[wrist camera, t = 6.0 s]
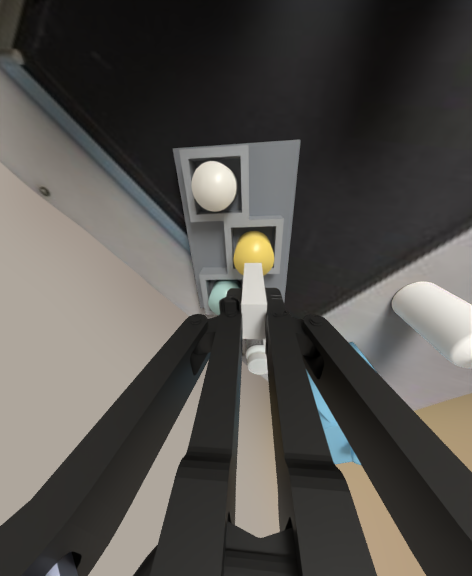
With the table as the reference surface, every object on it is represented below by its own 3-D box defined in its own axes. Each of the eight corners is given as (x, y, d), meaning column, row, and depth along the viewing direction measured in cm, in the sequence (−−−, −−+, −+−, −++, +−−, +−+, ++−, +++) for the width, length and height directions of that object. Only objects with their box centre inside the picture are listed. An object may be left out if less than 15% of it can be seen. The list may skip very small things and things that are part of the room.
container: (342, 325, 35) (398, 413, 22) (391, 389, 44) (452, 481, 30) (269, 360, 42) (278, 445, 28) (324, 411, 50) (350, 494, 37)
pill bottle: (242, 336, 38) (240, 372, 31) (251, 319, 36) (251, 354, 29) (264, 342, 39) (267, 379, 31) (273, 326, 36) (279, 362, 29)
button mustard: (235, 231, 22) (232, 240, 19) (271, 230, 22) (275, 239, 19) (236, 264, 25) (234, 278, 21) (270, 264, 24) (273, 277, 21)
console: (181, 152, 23) (163, 144, 19) (294, 144, 22) (306, 134, 17) (204, 298, 34) (196, 317, 29) (280, 298, 33) (285, 317, 28)
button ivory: (198, 165, 21) (187, 162, 17) (237, 163, 21) (234, 159, 17) (203, 207, 23) (195, 212, 20) (238, 206, 23) (236, 210, 19)
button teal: (211, 276, 28) (206, 290, 24) (241, 276, 27) (239, 289, 24) (214, 300, 30) (210, 316, 27) (241, 300, 30) (240, 316, 26)
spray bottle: (402, 320, 34) (534, 440, 18) (382, 299, 32) (509, 412, 16) (444, 297, 31) (644, 415, 15) (424, 272, 29) (628, 378, 13)
